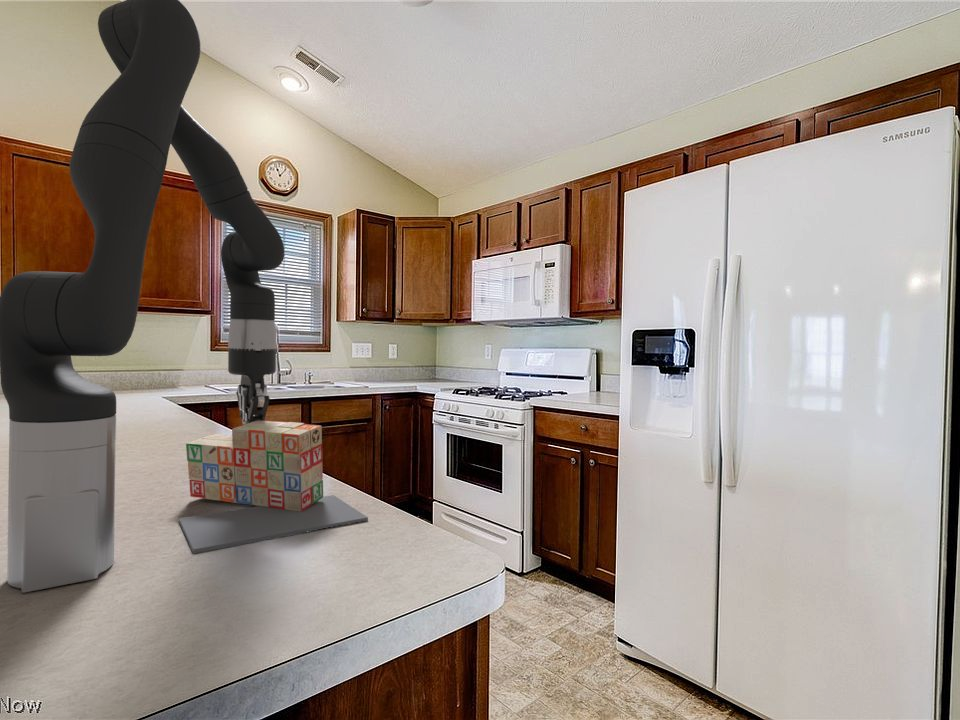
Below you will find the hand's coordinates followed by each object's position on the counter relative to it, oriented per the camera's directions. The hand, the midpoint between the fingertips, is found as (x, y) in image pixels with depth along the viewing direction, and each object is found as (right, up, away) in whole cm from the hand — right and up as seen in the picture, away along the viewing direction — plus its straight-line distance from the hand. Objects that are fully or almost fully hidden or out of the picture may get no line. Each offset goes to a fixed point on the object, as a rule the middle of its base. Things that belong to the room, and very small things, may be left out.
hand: (251, 446), depth 89 cm
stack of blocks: (+3, -8, -5) cm, 10 cm away
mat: (+9, -9, -14) cm, 19 cm away
